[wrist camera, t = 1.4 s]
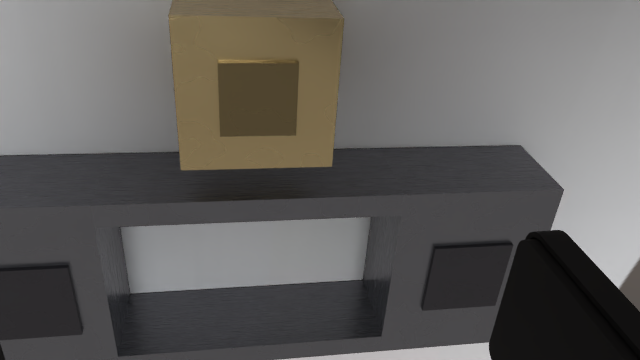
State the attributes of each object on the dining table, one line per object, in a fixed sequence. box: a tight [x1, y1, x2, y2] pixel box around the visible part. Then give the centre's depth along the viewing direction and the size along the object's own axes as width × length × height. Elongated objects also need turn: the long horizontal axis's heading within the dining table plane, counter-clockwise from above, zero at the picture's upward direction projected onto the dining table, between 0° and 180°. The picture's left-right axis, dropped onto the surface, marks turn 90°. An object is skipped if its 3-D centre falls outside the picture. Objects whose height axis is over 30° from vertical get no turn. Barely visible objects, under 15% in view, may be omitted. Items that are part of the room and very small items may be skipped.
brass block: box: [169, 0, 344, 170], centre depth 20 cm, size 5×5×6 cm
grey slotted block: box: [0, 146, 564, 360], centre depth 25 cm, size 25×9×4 cm, turn 88°
